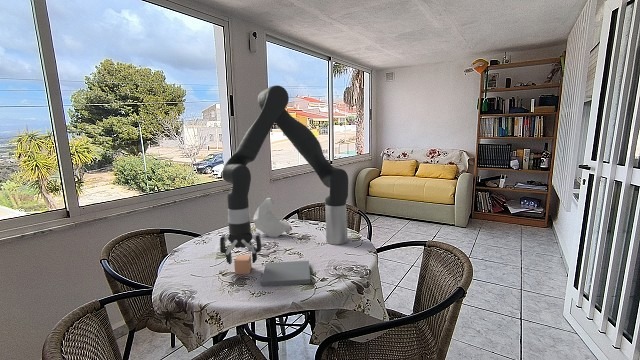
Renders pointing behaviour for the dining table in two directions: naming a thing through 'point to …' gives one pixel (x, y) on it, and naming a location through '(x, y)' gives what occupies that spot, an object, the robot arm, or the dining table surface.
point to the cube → (242, 264)
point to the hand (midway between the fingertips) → (242, 262)
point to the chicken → (269, 220)
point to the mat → (286, 273)
